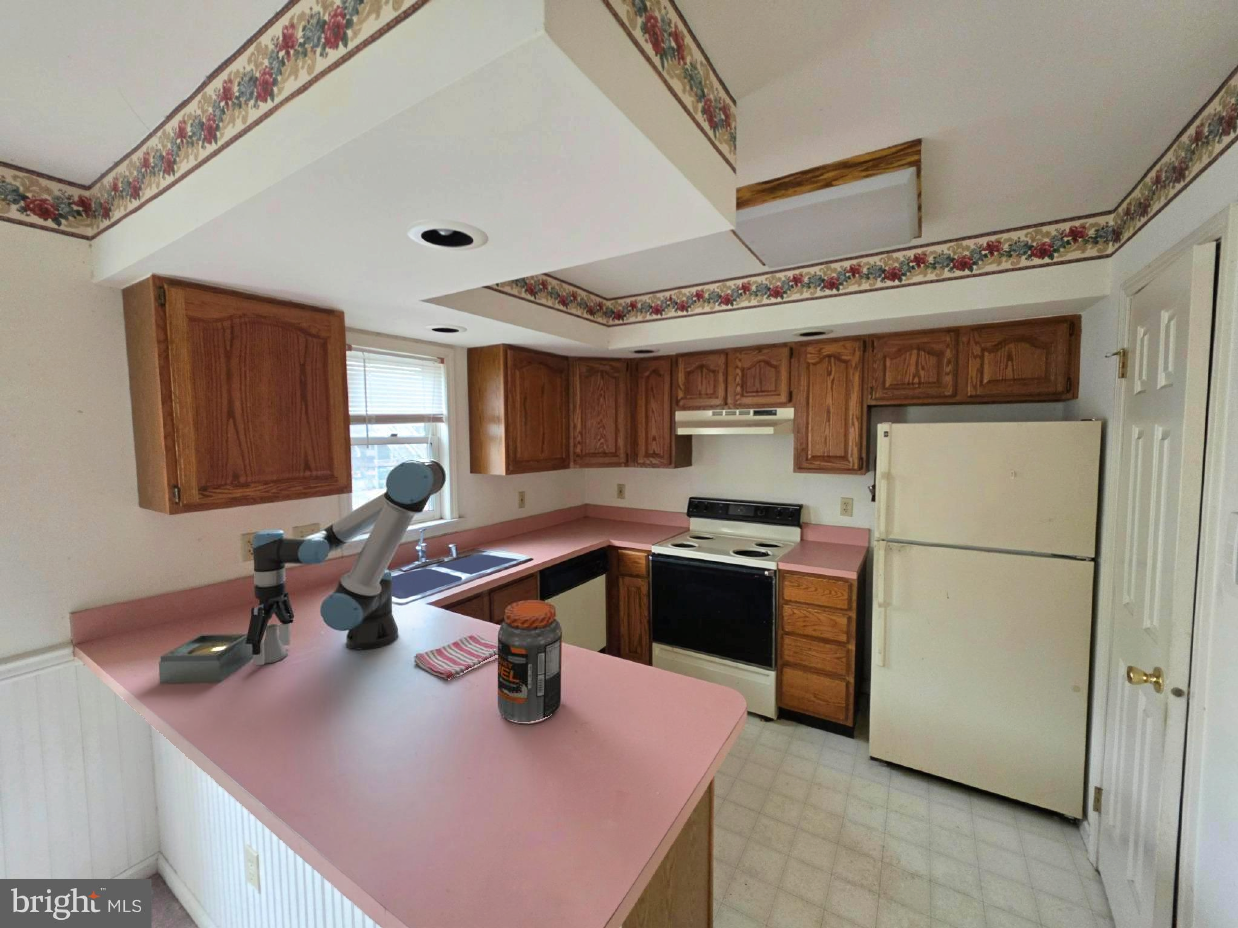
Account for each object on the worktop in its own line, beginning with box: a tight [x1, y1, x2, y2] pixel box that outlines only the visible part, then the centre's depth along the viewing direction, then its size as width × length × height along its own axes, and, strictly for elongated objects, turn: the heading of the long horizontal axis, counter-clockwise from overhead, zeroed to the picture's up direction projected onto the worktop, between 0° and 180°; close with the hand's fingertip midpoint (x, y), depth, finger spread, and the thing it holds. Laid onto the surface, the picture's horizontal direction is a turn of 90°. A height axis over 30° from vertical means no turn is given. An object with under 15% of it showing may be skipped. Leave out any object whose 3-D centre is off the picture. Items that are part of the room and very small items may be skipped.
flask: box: [263, 623, 288, 664], centre depth 145 cm, size 7×7×10 cm
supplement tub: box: [497, 599, 563, 722], centre depth 122 cm, size 16×16×26 cm
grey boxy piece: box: [158, 632, 253, 685], centre depth 137 cm, size 15×14×8 cm
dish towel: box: [413, 634, 498, 680], centre depth 148 cm, size 17×23×4 cm
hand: (272, 654), depth 145 cm, fingers open, 12 cm apart
